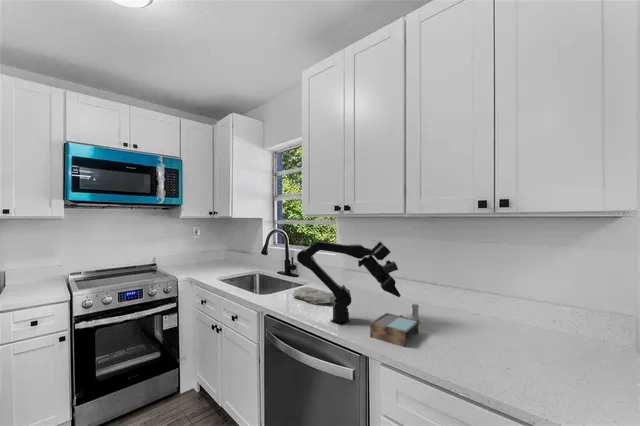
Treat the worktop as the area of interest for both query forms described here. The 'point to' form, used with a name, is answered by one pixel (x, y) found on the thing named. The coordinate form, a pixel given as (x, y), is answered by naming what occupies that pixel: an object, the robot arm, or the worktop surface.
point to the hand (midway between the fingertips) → (397, 293)
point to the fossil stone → (314, 295)
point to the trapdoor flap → (397, 322)
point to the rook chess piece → (415, 312)
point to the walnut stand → (391, 332)
